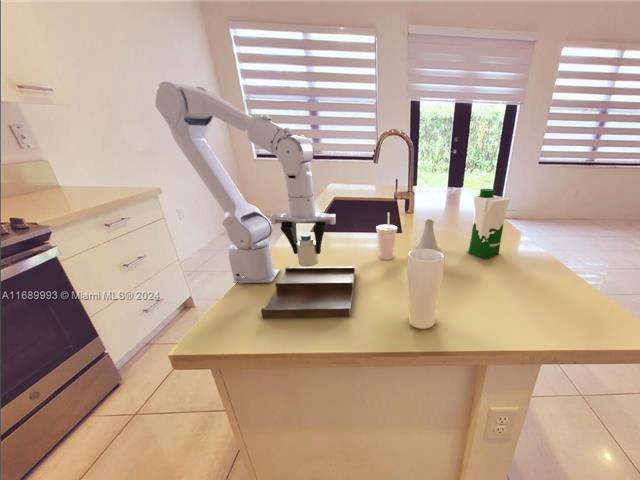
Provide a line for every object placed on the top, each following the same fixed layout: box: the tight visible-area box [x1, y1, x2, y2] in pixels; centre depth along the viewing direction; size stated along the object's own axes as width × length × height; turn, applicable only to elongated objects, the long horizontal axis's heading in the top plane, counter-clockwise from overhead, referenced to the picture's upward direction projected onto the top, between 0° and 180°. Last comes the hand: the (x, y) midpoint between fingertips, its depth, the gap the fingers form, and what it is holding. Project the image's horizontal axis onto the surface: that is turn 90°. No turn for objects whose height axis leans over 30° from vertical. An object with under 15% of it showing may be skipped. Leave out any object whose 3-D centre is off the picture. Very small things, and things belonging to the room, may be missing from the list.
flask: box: [416, 218, 439, 251], centre depth 103 cm, size 7×7×10 cm
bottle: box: [296, 233, 320, 267], centre depth 76 cm, size 5×5×7 cm
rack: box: [260, 266, 356, 319], centre depth 74 cm, size 18×21×3 cm
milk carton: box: [467, 188, 510, 260], centre depth 98 cm, size 9×9×20 cm
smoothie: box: [375, 211, 398, 261], centre depth 95 cm, size 6×6×14 cm
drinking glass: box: [406, 248, 445, 330], centre depth 61 cm, size 7×7×15 cm
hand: (307, 252), depth 77 cm, fingers closed on bottle, 5 cm apart
